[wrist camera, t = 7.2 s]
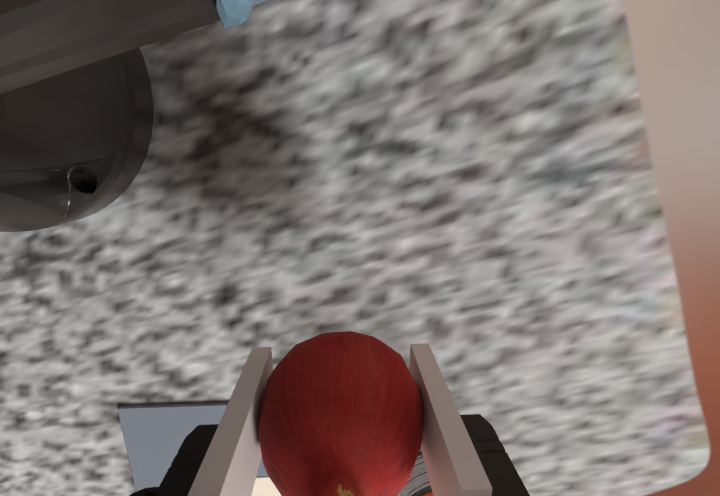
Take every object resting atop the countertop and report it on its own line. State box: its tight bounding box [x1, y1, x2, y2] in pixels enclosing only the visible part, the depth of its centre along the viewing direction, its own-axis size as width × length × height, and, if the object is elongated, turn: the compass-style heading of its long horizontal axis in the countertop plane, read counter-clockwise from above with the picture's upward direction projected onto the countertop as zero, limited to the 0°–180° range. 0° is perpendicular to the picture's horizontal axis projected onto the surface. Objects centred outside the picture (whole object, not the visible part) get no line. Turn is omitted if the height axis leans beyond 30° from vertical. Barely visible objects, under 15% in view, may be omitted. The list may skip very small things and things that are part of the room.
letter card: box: [118, 402, 281, 496], centre depth 28 cm, size 16×16×1 cm
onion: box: [258, 331, 423, 496], centre depth 12 cm, size 6×6×8 cm
